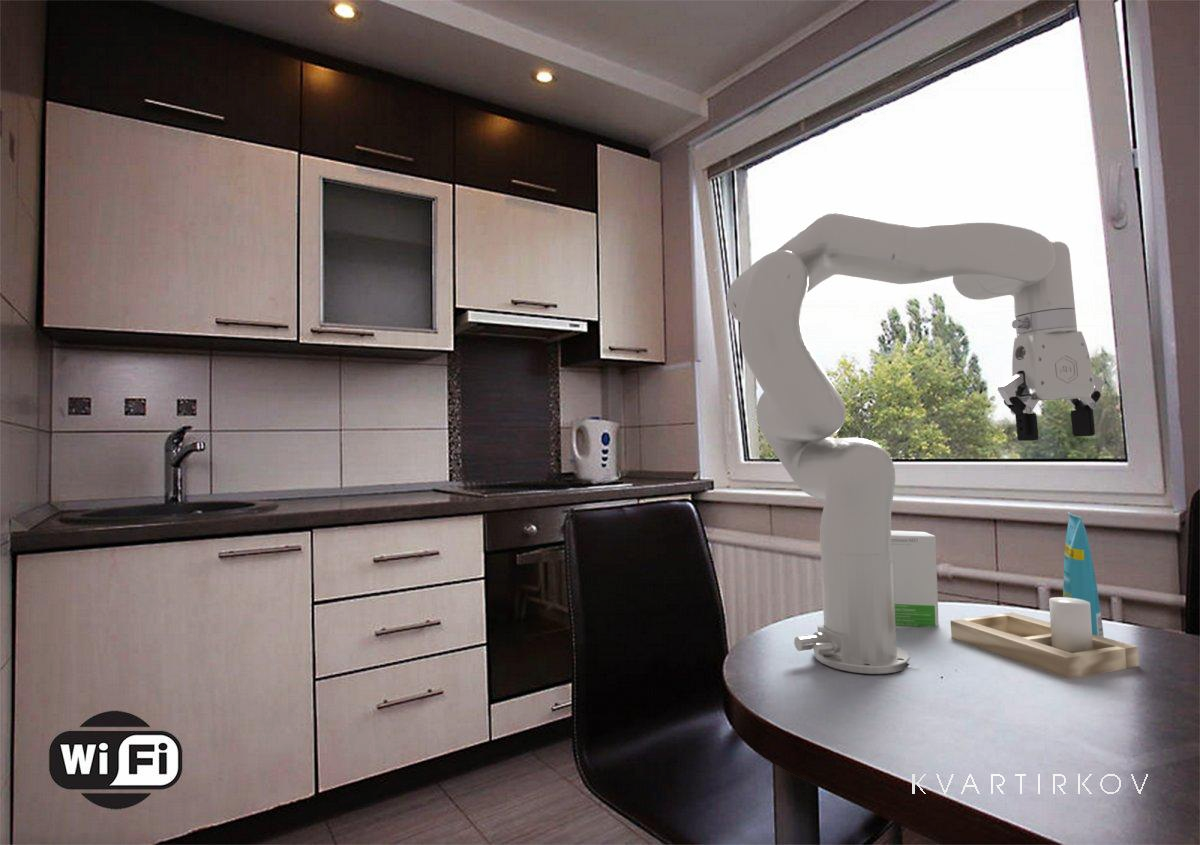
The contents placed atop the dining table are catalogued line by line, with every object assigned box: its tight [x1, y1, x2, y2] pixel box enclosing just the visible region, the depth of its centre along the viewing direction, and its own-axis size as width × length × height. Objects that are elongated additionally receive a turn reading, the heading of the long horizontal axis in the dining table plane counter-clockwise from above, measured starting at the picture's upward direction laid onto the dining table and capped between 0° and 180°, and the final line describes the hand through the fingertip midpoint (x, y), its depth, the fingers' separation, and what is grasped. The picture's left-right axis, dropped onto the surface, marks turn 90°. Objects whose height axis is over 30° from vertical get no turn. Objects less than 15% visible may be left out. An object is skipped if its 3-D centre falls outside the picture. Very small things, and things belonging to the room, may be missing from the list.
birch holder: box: [950, 612, 1140, 679], centre depth 89 cm, size 12×18×4 cm, turn 16°
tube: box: [1062, 511, 1105, 638], centre depth 94 cm, size 7×5×19 cm, turn 160°
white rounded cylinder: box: [1048, 596, 1093, 653], centre depth 84 cm, size 4×4×8 cm
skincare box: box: [891, 530, 940, 631], centre depth 106 cm, size 8×7×16 cm
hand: (1056, 438), depth 95 cm, fingers open, 9 cm apart
